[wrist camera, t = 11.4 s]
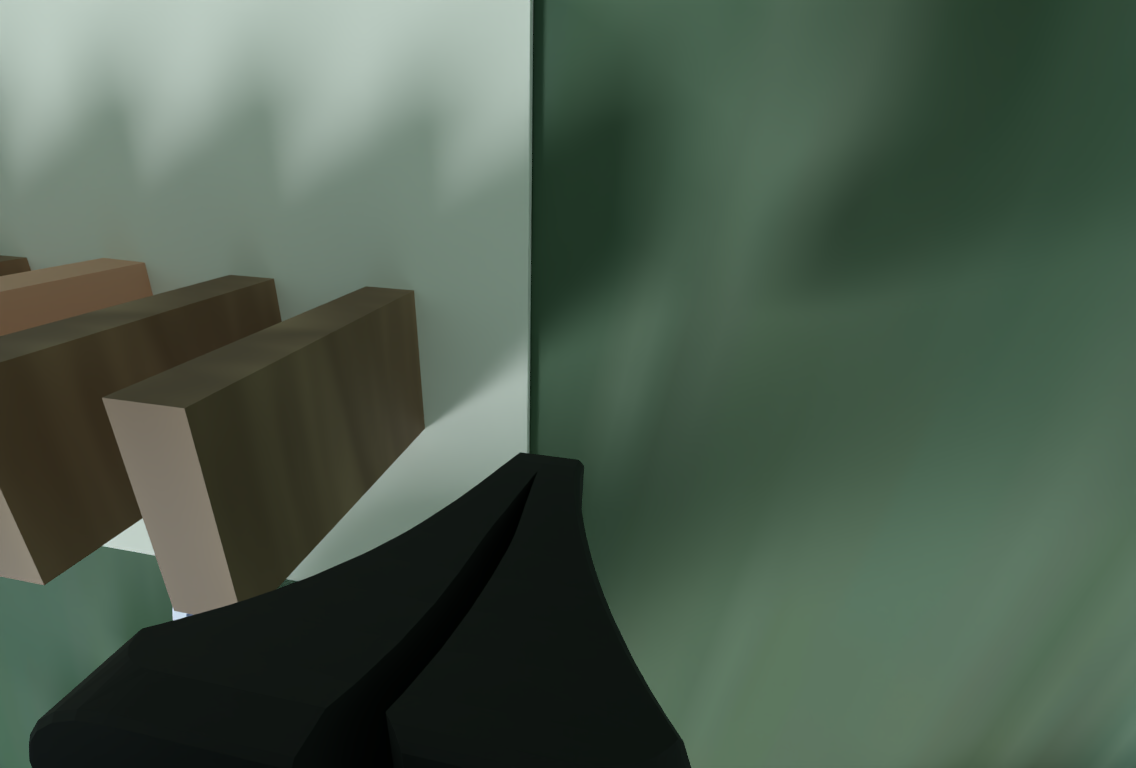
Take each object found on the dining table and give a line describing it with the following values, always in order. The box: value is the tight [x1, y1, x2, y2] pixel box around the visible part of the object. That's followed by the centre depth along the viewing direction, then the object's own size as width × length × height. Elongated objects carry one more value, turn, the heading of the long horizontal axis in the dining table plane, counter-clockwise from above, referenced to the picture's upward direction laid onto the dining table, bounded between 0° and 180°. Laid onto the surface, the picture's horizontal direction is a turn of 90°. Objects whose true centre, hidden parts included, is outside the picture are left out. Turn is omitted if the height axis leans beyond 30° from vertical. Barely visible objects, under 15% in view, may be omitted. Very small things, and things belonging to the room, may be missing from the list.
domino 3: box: [102, 286, 425, 615], centre depth 14 cm, size 2×5×8 cm, turn 178°
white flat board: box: [0, 0, 533, 581], centre depth 19 cm, size 28×21×1 cm
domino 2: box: [0, 275, 282, 585], centre depth 15 cm, size 2×5×8 cm, turn 178°
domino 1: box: [0, 258, 153, 336], centre depth 15 cm, size 2×5×8 cm, turn 176°
